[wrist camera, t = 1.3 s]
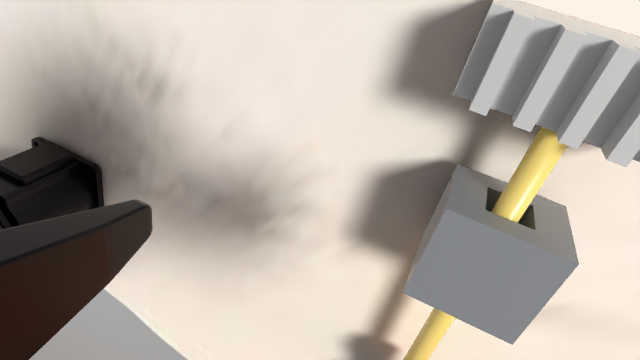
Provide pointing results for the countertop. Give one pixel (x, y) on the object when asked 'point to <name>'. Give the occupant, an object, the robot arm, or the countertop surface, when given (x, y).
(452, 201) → the sleeve
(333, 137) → the countertop surface
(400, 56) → the countertop surface
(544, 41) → the cord rig
